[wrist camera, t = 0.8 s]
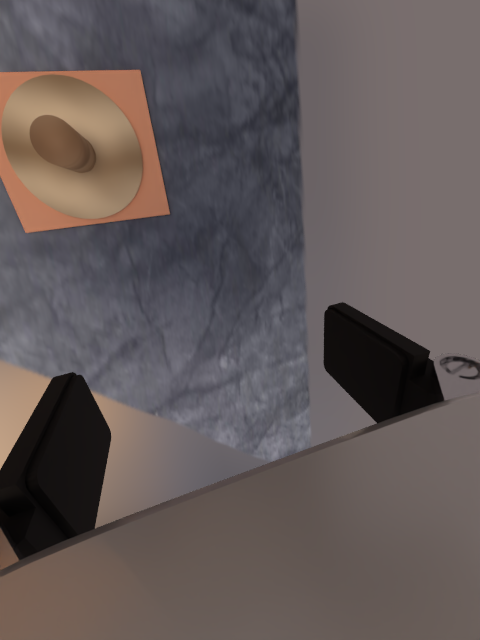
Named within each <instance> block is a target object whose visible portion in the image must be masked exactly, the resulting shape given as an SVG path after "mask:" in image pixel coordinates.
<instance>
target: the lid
mask: <svg viewBox="0 0 480 640" xmlns="http://www.w3.org/2000/svg"><path fill="white" fill-rule="evenodd" d="M1 131H2V140H3V145H4V149H5V152H6V155H7V158H8V160H9V162H10V164H11V166H12V168H13V170H14V171H15V173H16V175H17V176H18V178H19V179H20V180H21V182H22V183H23V184H24V185H25V187H26V188H27V189H28V190H29V191H30V192H31V193H32V194H33V195H34V196H36V197H37V198H38V199H39V200H40V201H42V202H43V203H45V204H46V205H48V206H49V207H51V208H53V209H55V210H56V211H59V212H61V213H63V214H66V215H69V216H72V217H77V218H82V219H99V218H104V217H107V216H110V215H113V214H115V213H117V212H119V211H121V210H122V209H124V208H125V207H126V206H127V205H128V204H129V203H130V202H131V201H132V200H133V198H134V197H135V195H136V193H137V191H138V189H139V187H140V184H141V179H142V172H143V161H142V154H141V149H140V146H139V142H138V139H137V137H136V134H135V132H134V130H133V128H132V126H131V124H130V122H129V121H128V119H127V118H126V116H125V115H124V113H123V112H122V111H121V110H120V108H119V107H118V106H117V105H116V104H115V103H114V102H113V101H112V100H111V99H110V98H109V97H108V96H106V95H105V94H104V93H103V92H101V91H100V90H99V89H97V88H95V87H94V86H92V85H90V84H88V83H86V82H84V81H82V80H79V79H76V78H73V77H70V76H65V75H55V74H50V75H41V76H38V77H34V78H32V79H30V80H28V81H25V82H24V83H23V84H21V85H20V86H19V87H17V89H16V90H15V91H14V92H13V93H12V94H11V96H10V97H9V99H8V101H7V103H6V105H5V108H4V111H3V116H2V125H1Z"/></svg>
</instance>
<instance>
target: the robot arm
mask: <svg viewBox="0 0 480 640" xmlns="http://www.w3.org/2000/svg"><path fill="white" fill-rule="evenodd" d="M429 353H430V351H429V350H427V349H425V348H424V347H422V346H420V345H418V344H417V343H415V342H413V341H411V340H410V339H408V338H406V337H404V336H403V335H401V334H399V333H397V332H395V331H394V330H392V329H390V328H388V327H387V326H385V325H383V324H381V323H379V322H378V321H376V320H374V319H372V318H370V317H368V316H367V315H365V314H363V313H362V312H360V311H358V310H356V309H355V308H353V307H351V306H349V305H347V304H346V303H338V304H335V305H331V306H329V307H328V309H327V310H326V311H325V315H324V367H325V369H326V371H327V372H328V373H329V374H330V375H331V376H332V377H333V378H334V379H335V380H336V381H337V383H339V384H340V386H341V387H342V388H343V389H345V391H346V392H347V393H349V395H350V396H351V397H352V398H353V399H354V400H355V401H356V402H357V403H358V404H359V405H360V406H361V407H362V408H363V409H364V410H365V411H366V412H367V413H368V414H369V415H370V416H371V417H372V418H373V419H374V420H375V421H376V422H377V424H374V425H372V426H369V427H366V428H363V429H361V430H358V431H355V432H352V433H350V434H347V435H345V436H341V437H339V438H336V439H333V440H330V441H328V442H325V443H322V444H319V445H317V446H314V447H311V448H308V449H306V450H303V451H300V452H298V453H295V454H292V455H289V456H287V457H284V458H281V459H279V460H276V461H273V462H270V463H268V464H265V465H262V466H260V467H257V468H254V469H252V470H249V471H246V472H243V473H241V474H238V475H235V476H233V477H230V478H227V479H224V480H222V481H219V482H217V483H214V484H211V485H208V486H206V487H203V488H200V489H198V490H195V491H192V492H190V493H187V494H184V495H182V496H179V497H177V498H174V499H171V500H169V501H166V502H163V503H160V504H158V505H155V506H153V507H150V508H147V509H145V510H142V511H139V512H137V513H134V514H131V515H129V516H126V517H123V518H121V519H119V520H116V521H113V522H111V523H108V524H106V525H103V526H101V527H98V528H96V529H94V528H95V523H96V517H97V512H98V506H99V501H100V496H101V490H102V485H103V480H104V474H105V469H106V464H107V458H108V453H109V447H110V442H111V432H110V429H109V427H108V425H107V423H106V421H105V419H104V417H103V415H102V413H101V411H100V409H99V407H98V405H97V403H96V401H95V399H94V397H93V395H92V393H91V391H90V389H89V387H88V385H87V383H86V382H85V380H84V378H83V376H82V375H76V374H75V373H73V372H72V373H68V374H64V375H60V376H56V377H53V379H52V380H51V382H50V384H49V385H48V387H47V389H46V391H45V393H44V394H43V396H42V398H41V399H40V401H39V403H38V405H37V406H36V408H35V410H34V412H33V413H32V415H31V417H30V419H29V421H28V422H27V424H26V426H25V428H24V429H23V431H22V433H21V434H20V436H19V438H18V440H17V442H16V443H15V445H14V447H13V448H12V450H11V452H10V454H9V456H8V457H7V459H6V461H5V463H4V464H3V466H2V468H1V470H0V640H480V360H478V359H476V358H473V357H470V356H467V355H461V354H451V353H448V354H441V355H439V356H437V357H436V358H435V359H434V361H432V360H430V359H429V358H428V357H429Z"/></svg>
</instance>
